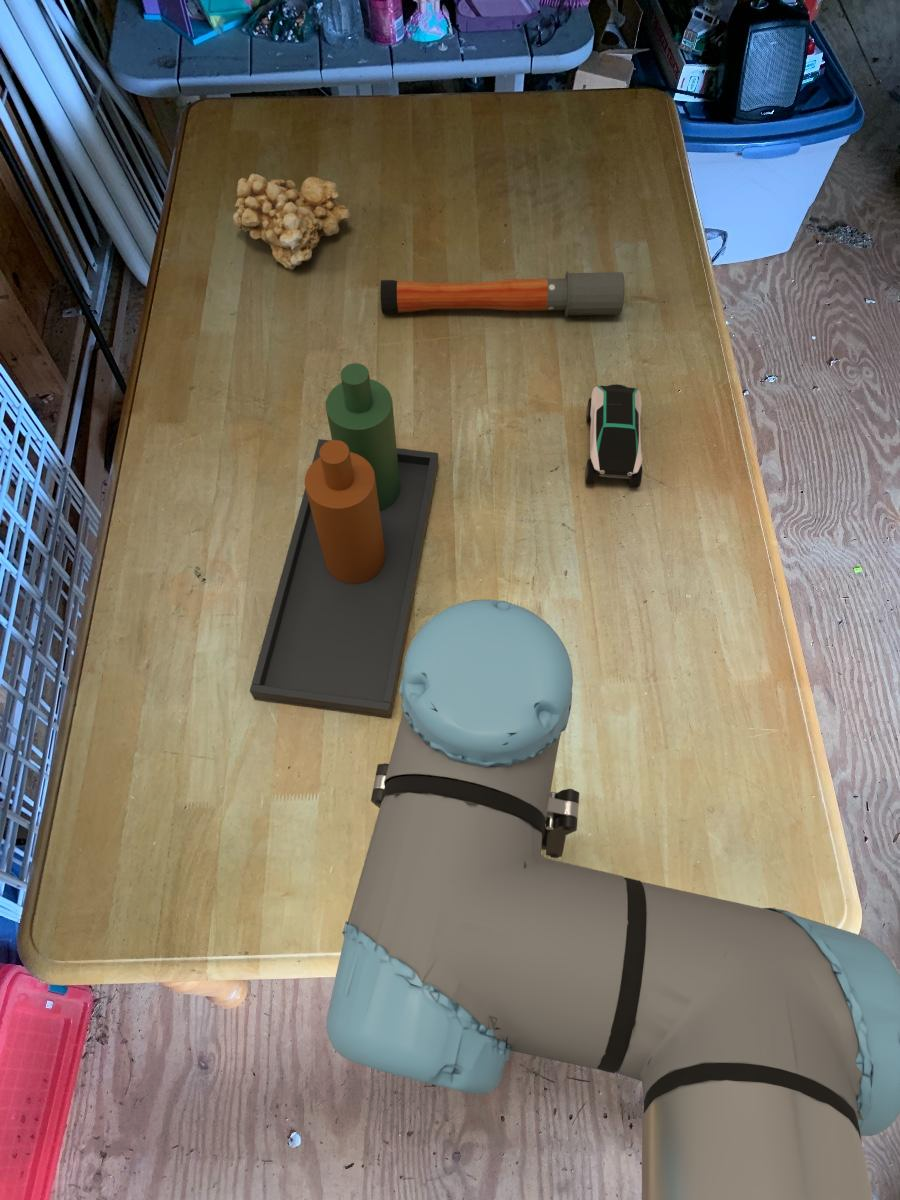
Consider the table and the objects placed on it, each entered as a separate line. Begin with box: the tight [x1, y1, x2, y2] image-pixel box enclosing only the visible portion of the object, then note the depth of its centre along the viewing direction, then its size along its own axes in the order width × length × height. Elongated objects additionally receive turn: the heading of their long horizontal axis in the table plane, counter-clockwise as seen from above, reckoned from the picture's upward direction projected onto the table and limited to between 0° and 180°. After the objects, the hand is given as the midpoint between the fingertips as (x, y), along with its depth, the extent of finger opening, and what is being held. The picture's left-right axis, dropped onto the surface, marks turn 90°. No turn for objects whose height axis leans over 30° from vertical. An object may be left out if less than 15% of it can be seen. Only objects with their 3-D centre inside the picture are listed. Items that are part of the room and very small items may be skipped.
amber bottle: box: [304, 439, 385, 584], centre depth 80 cm, size 6×6×18 cm
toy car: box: [584, 383, 644, 489], centre depth 93 cm, size 6×12×5 cm, turn 175°
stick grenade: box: [379, 271, 626, 318], centre depth 104 cm, size 5×5×30 cm
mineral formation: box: [232, 173, 351, 271], centre depth 110 cm, size 8×13×15 cm
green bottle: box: [325, 362, 400, 511], centre depth 84 cm, size 6×6×18 cm
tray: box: [249, 438, 439, 719], centre depth 87 cm, size 31×14×2 cm, turn 172°
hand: (470, 848), depth 69 cm, fingers closed on sauce bottle, 6 cm apart
